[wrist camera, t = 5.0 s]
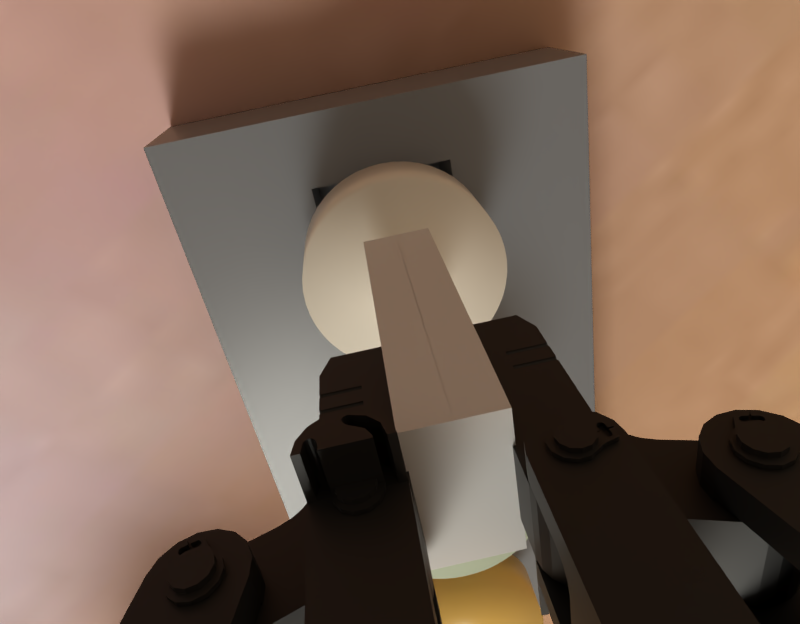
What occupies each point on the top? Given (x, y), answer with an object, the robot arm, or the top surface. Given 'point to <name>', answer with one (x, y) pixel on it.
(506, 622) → the button amber
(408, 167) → the button cream
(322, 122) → the panel
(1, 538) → the top surface
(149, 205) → the top surface
